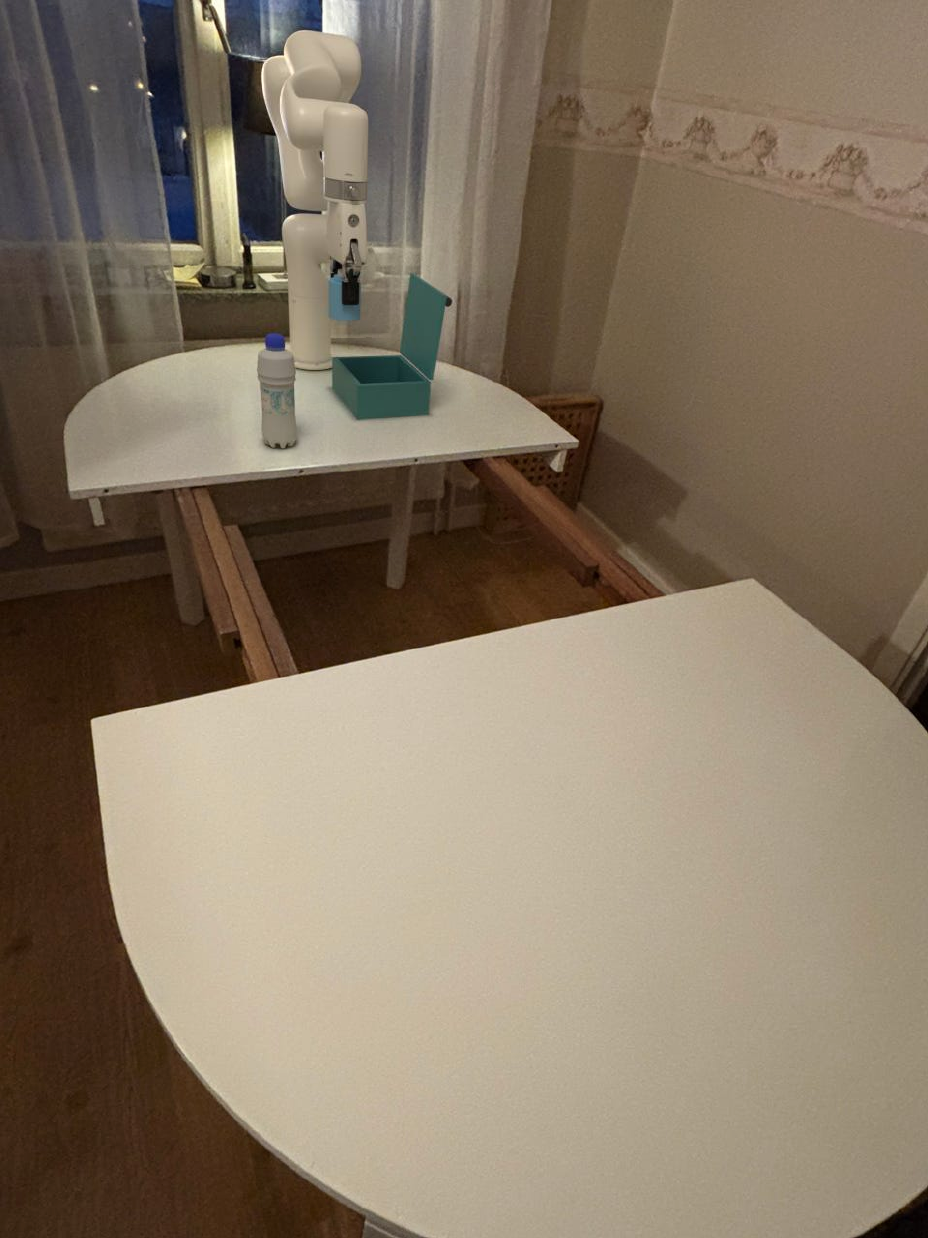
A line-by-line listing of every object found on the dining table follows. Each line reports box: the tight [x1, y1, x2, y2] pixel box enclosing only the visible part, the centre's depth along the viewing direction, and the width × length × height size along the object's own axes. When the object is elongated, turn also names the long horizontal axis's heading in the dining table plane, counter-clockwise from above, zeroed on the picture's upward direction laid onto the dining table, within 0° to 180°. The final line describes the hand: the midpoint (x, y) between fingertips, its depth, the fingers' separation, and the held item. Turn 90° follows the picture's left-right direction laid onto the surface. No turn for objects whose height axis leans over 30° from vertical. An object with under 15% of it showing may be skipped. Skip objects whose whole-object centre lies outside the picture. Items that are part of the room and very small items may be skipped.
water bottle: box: [328, 268, 362, 322], centre depth 139 cm, size 6×6×8 cm
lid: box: [399, 272, 453, 381], centre depth 156 cm, size 17×18×5 cm
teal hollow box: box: [331, 354, 432, 420], centre depth 159 cm, size 16×18×7 cm
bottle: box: [256, 332, 297, 449], centre depth 133 cm, size 7×7×20 cm
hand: (344, 298), depth 140 cm, fingers closed on water bottle, 6 cm apart
